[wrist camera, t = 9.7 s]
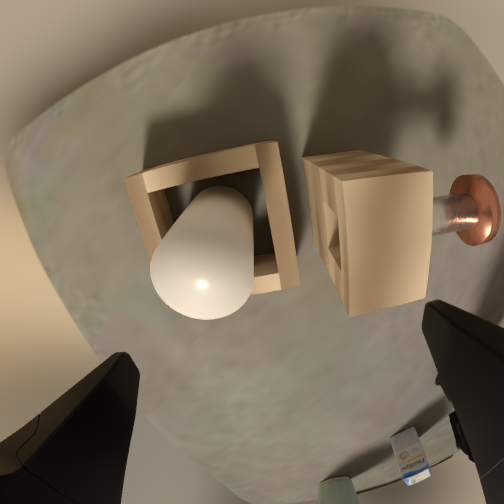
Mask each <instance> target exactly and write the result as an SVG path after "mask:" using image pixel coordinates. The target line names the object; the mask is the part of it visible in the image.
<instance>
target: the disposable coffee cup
mask: <svg viewBox="0 0 504 504" xmlns="http://www.w3.org/2000/svg"><path fill="white" fill-rule="evenodd" d="M317 504H360V503H359V500H358V497H357V495H356V492H355V489H354V486H353V483H352V481H351V480H350V478H349V477H336V478H332V479H328V480H325V481H323V482H322V483H321V484H320V487H319V490H318V503H317Z"/></svg>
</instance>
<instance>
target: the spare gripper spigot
mask: <svg viewBox="0 0 504 504" xmlns="http://www.w3.org/2000/svg"><path fill="white" fill-rule="evenodd" d="M150 274H151V279H152V282H153V285H154V287H155V290H156V291H157V293H158V295H159V296H160V297H161V299H162V300H163V301H164V302H165V303H166V304H167V305H168V306H170V307H171V308H172V309H174V310H175V311H177V312H179V313H181V314H183V315H186V316H188V317H192V318H196V319H217V318H221V317H225V316H227V315H229V314H232V313H233V312H235V311H236V310H238V309H239V308H240V307H241V306H242V305H243V304H244V303H245V302H246V300H247V299H248V297H249V295H250V293H251V291H252V288H253V283H254V245H253V211H252V208H251V205H250V203H249V202H248V200H247V199H246V198H245V196H244V195H242V194H241V193H240V192H239V191H237V190H235V189H233V188H230V187H226V186H213V187H209V188H207V189H205V190H203V191H201V192H200V193H199V194H198V195H197V196H196V197H195V198H194V199H193V200H192V202H191V203H190V204H189V205H188V207H187V208H186V209H185V210H184V212H183V213H182V214H181V215H180V217H179V218H178V219H177V221H176V222H175V223H174V224H173V226H172V227H171V228H170V230H169V231H168V232H167V234H166V235H165V236H164V238H163V239H162V240H161V242H160V243H159V244H158V246H157V247H156V249H155V251H154V253H153V255H152V259H151V265H150Z"/></svg>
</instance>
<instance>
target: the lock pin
mask: <svg viewBox="0 0 504 504" xmlns="http://www.w3.org/2000/svg"><path fill="white" fill-rule="evenodd" d="M500 220H501V210H500V203H499V199H498V196H497V194H496V191H495V189H494V187H493V186H492V184H491V183H490V182H489V181H488V180H487V179H486V178H485V177H483V176H481V175H478V174H471V175H462V176H459V177H458V178H456V179H455V181H454V182H453V184H452V186H451V189H450V194H449V195H445V196H438V197H433V223H432V236H436V235H441V234H446V233H451V232H456V233H457V234H458V236H459V237H460V239H461V240H462V241H463V242H465V243H466V244H468V245H471V246H476V245H479V244H483V243H487V242H489V241H491V240H492V239H493V238H494V237H495V236H496V234H497V232H498V229H499V226H500Z"/></svg>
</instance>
